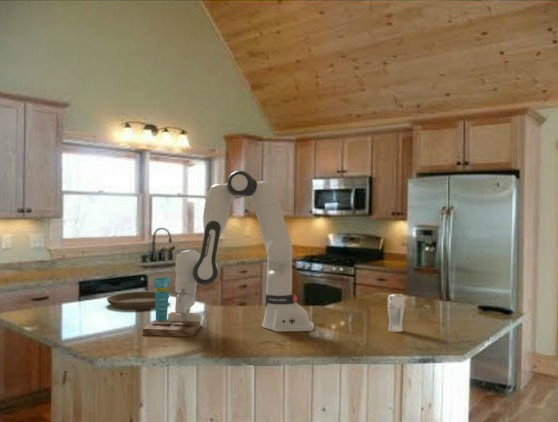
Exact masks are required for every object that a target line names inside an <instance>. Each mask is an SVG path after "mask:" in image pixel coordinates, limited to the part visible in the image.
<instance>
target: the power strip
mask: <svg viewBox="0 0 558 422" xmlns="http://www.w3.org/2000/svg"><path fill="white" fill-rule="evenodd" d="M167 321H182V320H181V314H176V312H175V311H171V312H169V313H167ZM186 321H189V322H200V323H201V322H202V321H203V312H202V313H201V312H200V313H199V312H197V313H196V312H189V313H186Z"/></svg>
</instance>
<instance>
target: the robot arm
mask: <svg viewBox="0 0 558 422" xmlns="http://www.w3.org/2000/svg"><path fill="white" fill-rule="evenodd" d="M246 197H249V198H250V199H251V202H252V205H253V208H254V211H255V214H256V218H257V221H258V225H259V228H260V232H261V235H262V240H263V244H264V247H265V252H266V254H267V258H266V259H267V260H266V288H265V289H266V293H265V294H264V295H265V296H264V305H265V310H264V311H265V312H264V317H263V321H262V324H261V326H262V327H263V328H265V329H268V330H271V331H274V332H279V333H281V332H310V331H313V330H314V329H315V324H314V323H313V322H312V321H310V317H309V313H308V311H307V310H306V309H305V308H303V306H301V305H300V304H299V303H298V302H297V301H298V297H297V295H296V294H294V293H293V290H292V289H293V250H294V249H293V248H294V247H293V244H292V242H291V241H292V240H291V238H290V237H291V236H290V235H289V231H288V227H287V225H286V224H287V223H286V220H285V218H284V214H283V210H282V207H281V204H280V201H279V198H278V195H277V192H276V191H275V188H274V186H273V184H272V183H271V182H270V181H268V180H260V181H257V180H256V179H254V177H253V176H251V175H250V173H248V172H247V171H245V170H235V171H233V172H232V173H230V174H229V175H228V178H227V182H226V183H224V184H223V183H215V184H213V185H211V186H210V188H209V190H208V192H207V195H206V199H205V203H204V207H203V216H202V220H203V221H202V222H203V223H202V224H203V241H202V247H201V251H200V253H199V252H197V251H196V250H195V249H186V250H182V251H179V252H178V254H177V255H176V258H175V268H174V269H175V281H174V284H175V285H174V289H175V290H174V292H175V293H178V294H177V295H176V298H175V304H174V305H175V310H174V312H176V314H181V320H182V321H186V313H191V312H190V310H191V308H192V307H194V305H195V303H196V295H197V294H196V293H197V289H198V284H200V285H203V286H207V285H211V284H213V283H214V282H215V281H216V279H217V278H218V272H219V271H218V270H219V265H218V262H217V261H216V258H217V251H218V247H219V241H220V238H221V236H222V234H223V231H224V230H225V228H226V226H227V223H228V220H229V216H230V211H231V206H232V202H233V200H234V199H239V198H246ZM197 283H198V284H197Z"/></svg>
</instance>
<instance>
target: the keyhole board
mask: <svg viewBox="0 0 558 422" xmlns="http://www.w3.org/2000/svg"><path fill="white" fill-rule="evenodd" d="M199 329H201V322H189V321H168V320H165V321H157V320H156V319H154V320H152V322H151V321H150V323H149V324H147V325H146V326H145V327H143V328H142V336H167V337H170V336H171V337H193V336H194V335H195V334H196V333H197V332H198V331H199Z"/></svg>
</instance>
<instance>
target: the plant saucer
mask: <svg viewBox="0 0 558 422" xmlns="http://www.w3.org/2000/svg"><path fill="white" fill-rule="evenodd" d="M169 298H170V296H169V297H168V299H169ZM106 300H107V302H108V304H110V306H111V307H112V308H114V309H118V310H129V311H130V310H131V311H134V310H135V311H136V310H149V309H154V308H155V309H156V305H155V291H131V292H129V291H128V292H124V293H123V292H121V293H117V294H113V295H110V296H107V298H106Z"/></svg>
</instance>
